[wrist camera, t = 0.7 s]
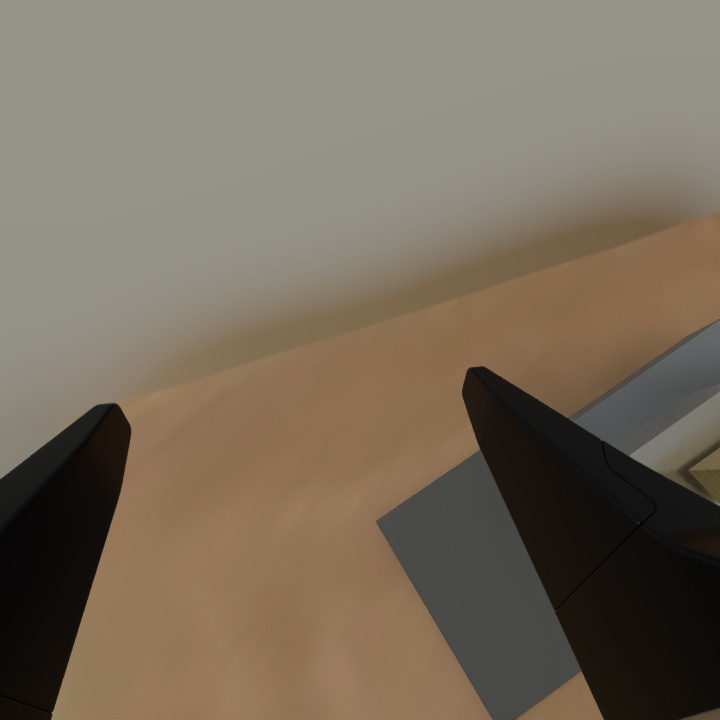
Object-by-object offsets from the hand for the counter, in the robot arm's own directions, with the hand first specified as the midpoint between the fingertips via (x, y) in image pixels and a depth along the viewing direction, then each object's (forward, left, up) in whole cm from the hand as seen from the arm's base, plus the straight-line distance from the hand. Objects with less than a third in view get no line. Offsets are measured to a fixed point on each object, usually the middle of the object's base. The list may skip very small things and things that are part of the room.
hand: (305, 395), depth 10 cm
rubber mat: (-10, -2, -17) cm, 20 cm away
